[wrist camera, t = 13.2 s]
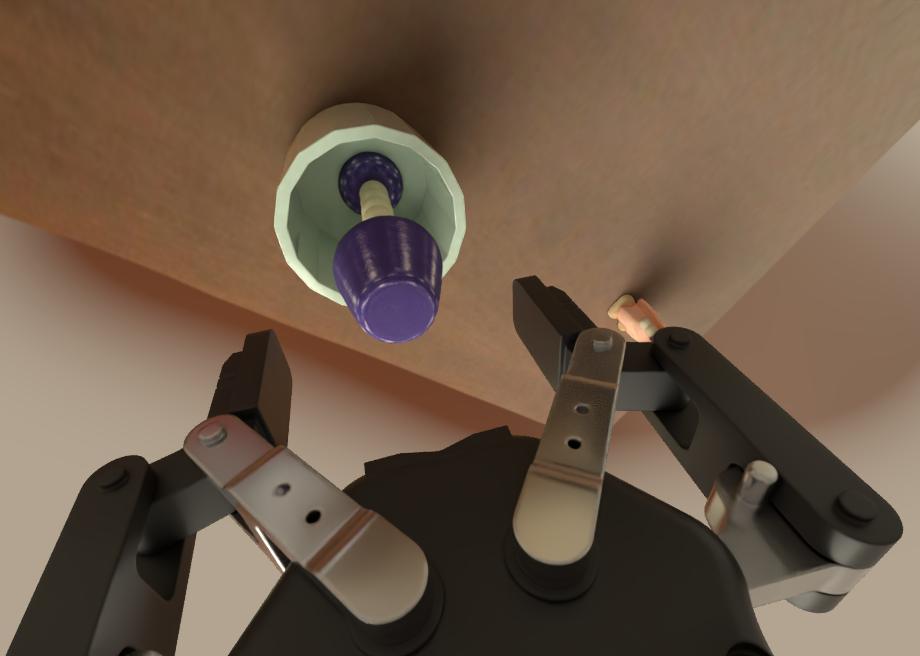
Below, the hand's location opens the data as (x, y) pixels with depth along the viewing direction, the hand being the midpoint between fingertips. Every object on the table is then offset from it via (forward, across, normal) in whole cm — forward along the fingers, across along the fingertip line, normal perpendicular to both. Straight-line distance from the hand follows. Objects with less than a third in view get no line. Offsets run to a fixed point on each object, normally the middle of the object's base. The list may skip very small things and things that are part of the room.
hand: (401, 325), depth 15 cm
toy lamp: (+18, 0, 0) cm, 18 cm away
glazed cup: (+19, 0, 0) cm, 19 cm away
